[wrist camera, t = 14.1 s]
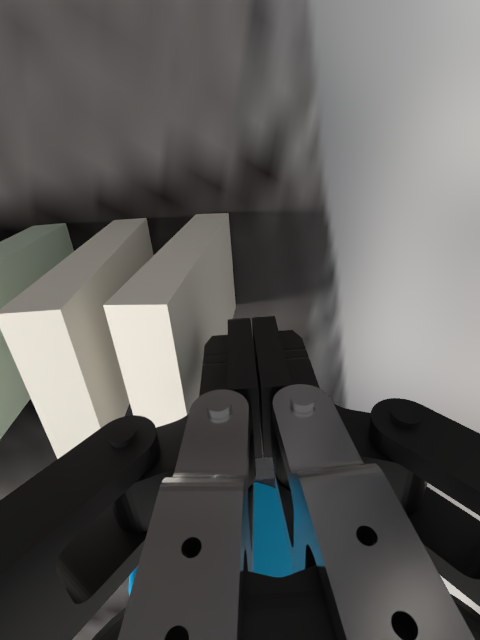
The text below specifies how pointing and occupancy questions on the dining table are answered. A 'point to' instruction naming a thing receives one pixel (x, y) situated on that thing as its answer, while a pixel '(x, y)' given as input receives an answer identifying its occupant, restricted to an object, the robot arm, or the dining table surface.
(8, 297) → the domino
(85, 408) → the domino
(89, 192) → the dining table surface
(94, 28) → the dining table surface
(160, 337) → the domino
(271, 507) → the mug
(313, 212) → the dining table surface
